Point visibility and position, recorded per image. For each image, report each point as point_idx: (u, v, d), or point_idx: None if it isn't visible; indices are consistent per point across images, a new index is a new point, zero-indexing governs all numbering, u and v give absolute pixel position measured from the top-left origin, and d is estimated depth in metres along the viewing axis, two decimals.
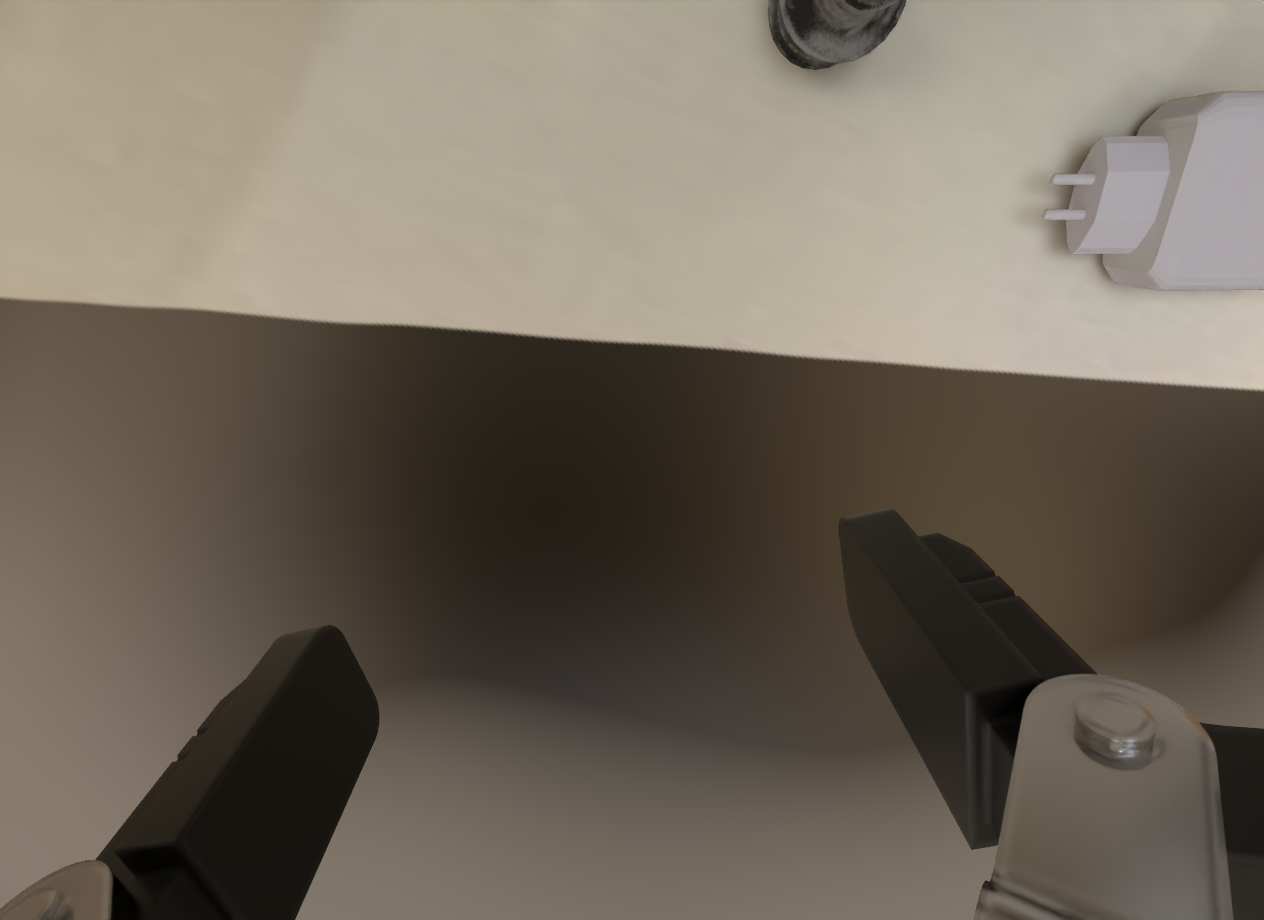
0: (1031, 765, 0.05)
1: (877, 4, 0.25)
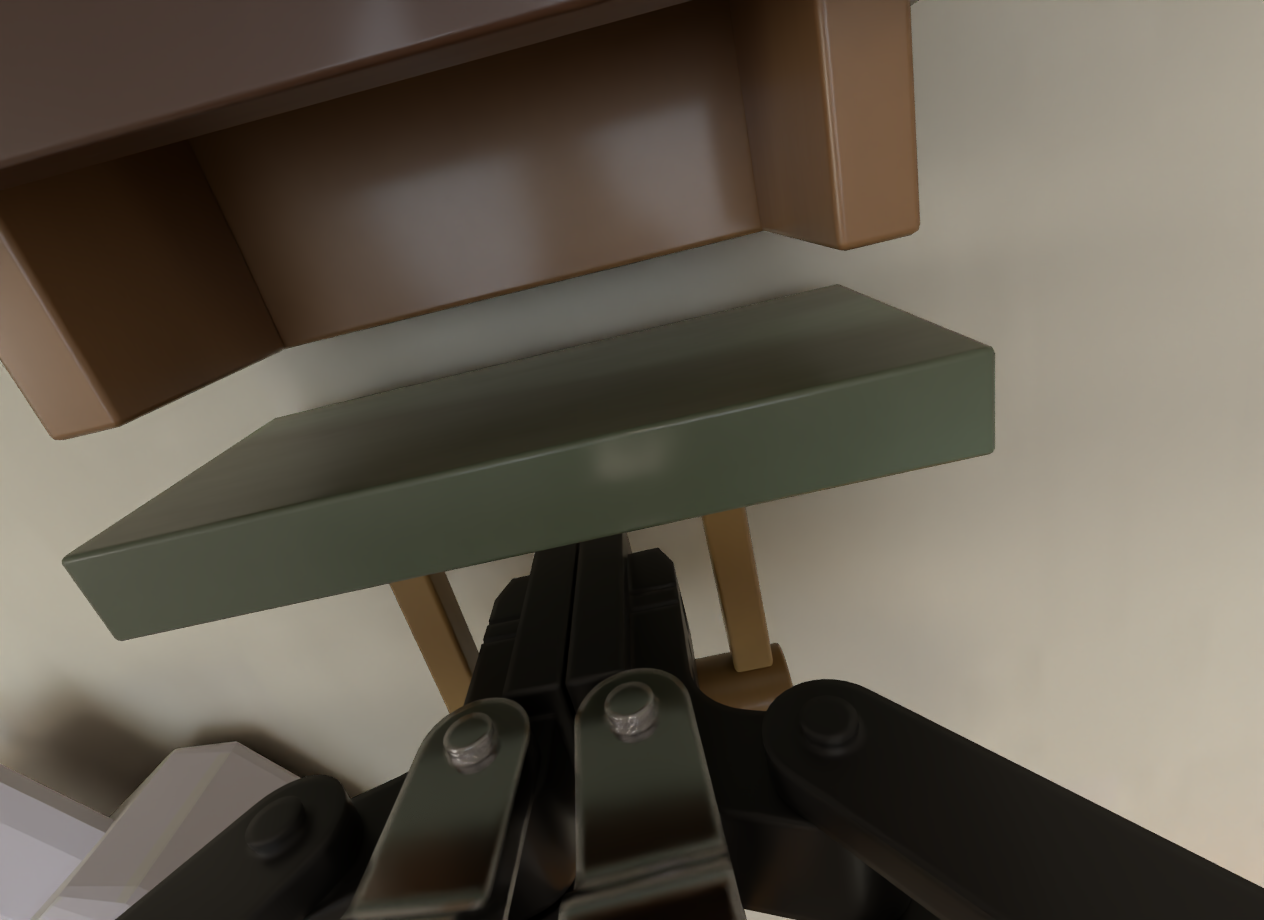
0: (587, 772, 0.06)
1: None
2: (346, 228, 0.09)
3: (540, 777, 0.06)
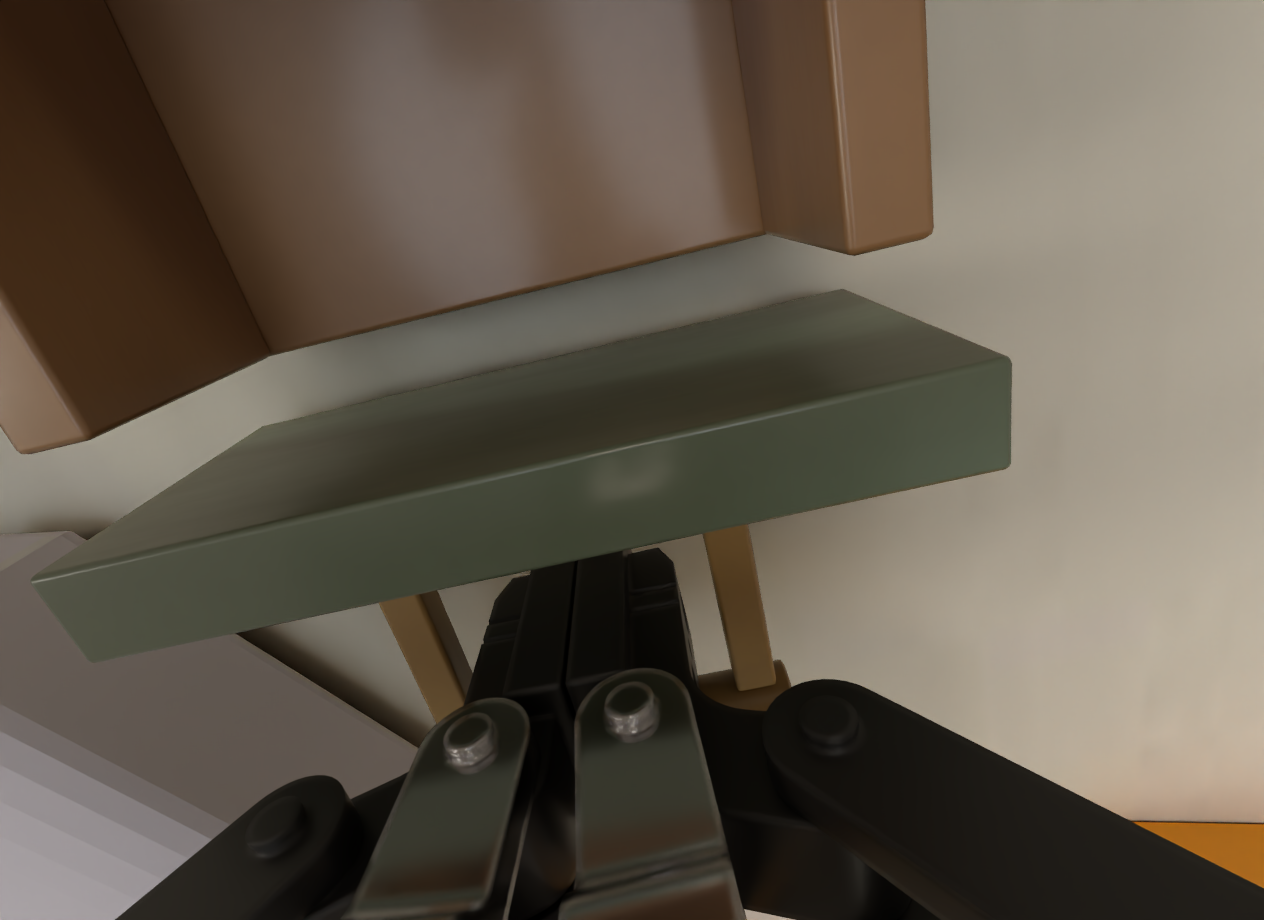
0: (587, 772, 0.06)
1: None
2: (334, 231, 0.09)
3: (540, 777, 0.06)
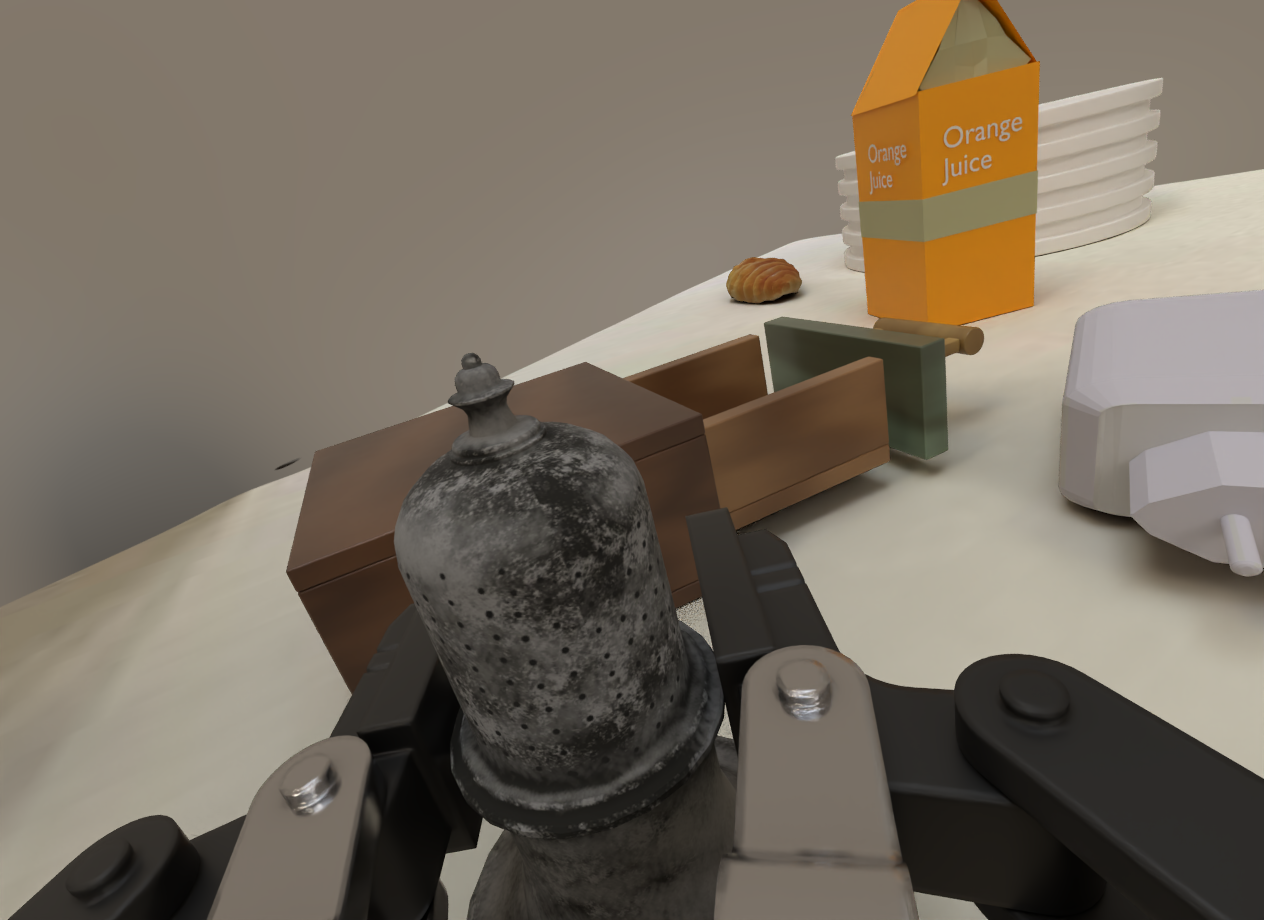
0: (752, 738, 0.06)
1: (699, 719, 0.07)
2: None
3: (378, 816, 0.06)
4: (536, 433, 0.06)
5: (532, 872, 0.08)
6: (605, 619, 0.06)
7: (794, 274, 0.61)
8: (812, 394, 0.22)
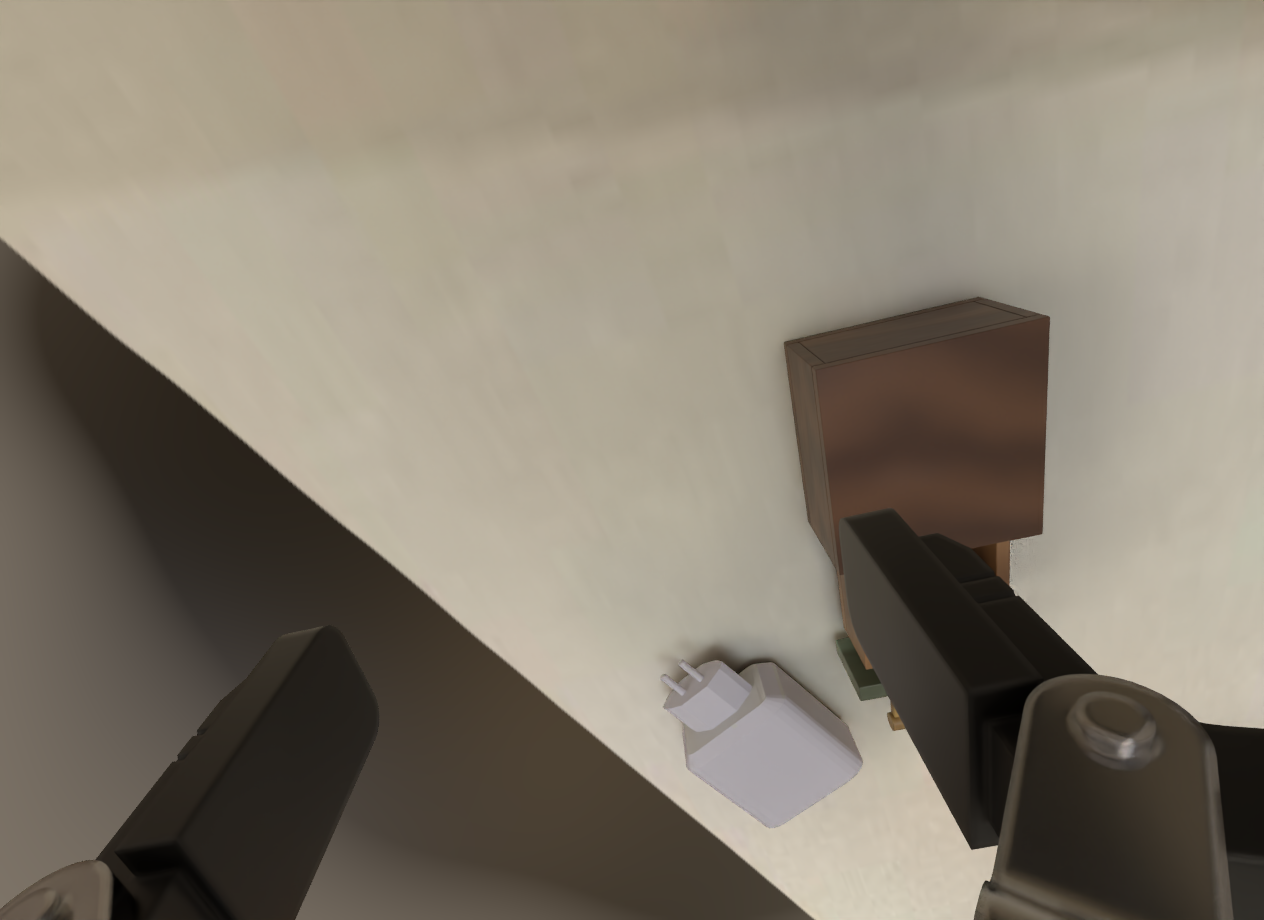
0: (1031, 765, 0.05)
1: None
2: None
3: None
4: None
5: None
6: None
7: None
8: None
